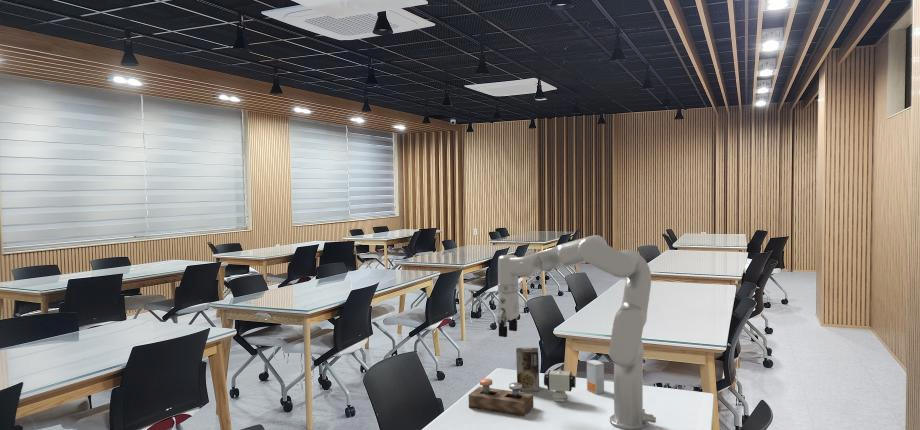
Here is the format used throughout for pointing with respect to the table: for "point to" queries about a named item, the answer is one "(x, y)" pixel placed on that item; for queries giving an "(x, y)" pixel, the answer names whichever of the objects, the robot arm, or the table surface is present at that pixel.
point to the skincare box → (595, 376)
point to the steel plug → (515, 389)
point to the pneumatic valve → (560, 383)
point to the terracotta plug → (486, 385)
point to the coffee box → (528, 368)
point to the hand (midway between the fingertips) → (508, 333)
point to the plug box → (501, 401)
